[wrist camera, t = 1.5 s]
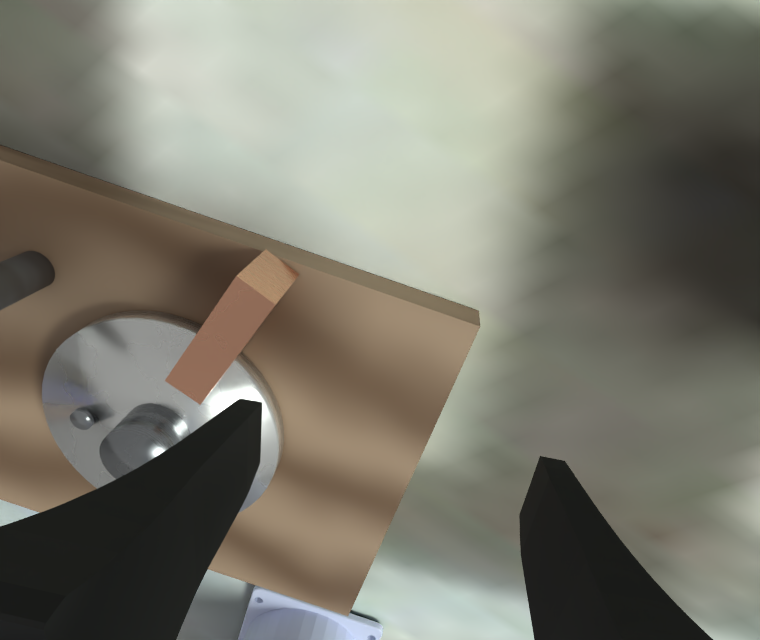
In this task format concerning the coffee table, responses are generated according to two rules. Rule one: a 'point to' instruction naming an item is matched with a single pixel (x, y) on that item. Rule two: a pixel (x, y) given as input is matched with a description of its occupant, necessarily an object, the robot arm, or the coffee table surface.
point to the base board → (265, 349)
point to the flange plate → (163, 380)
